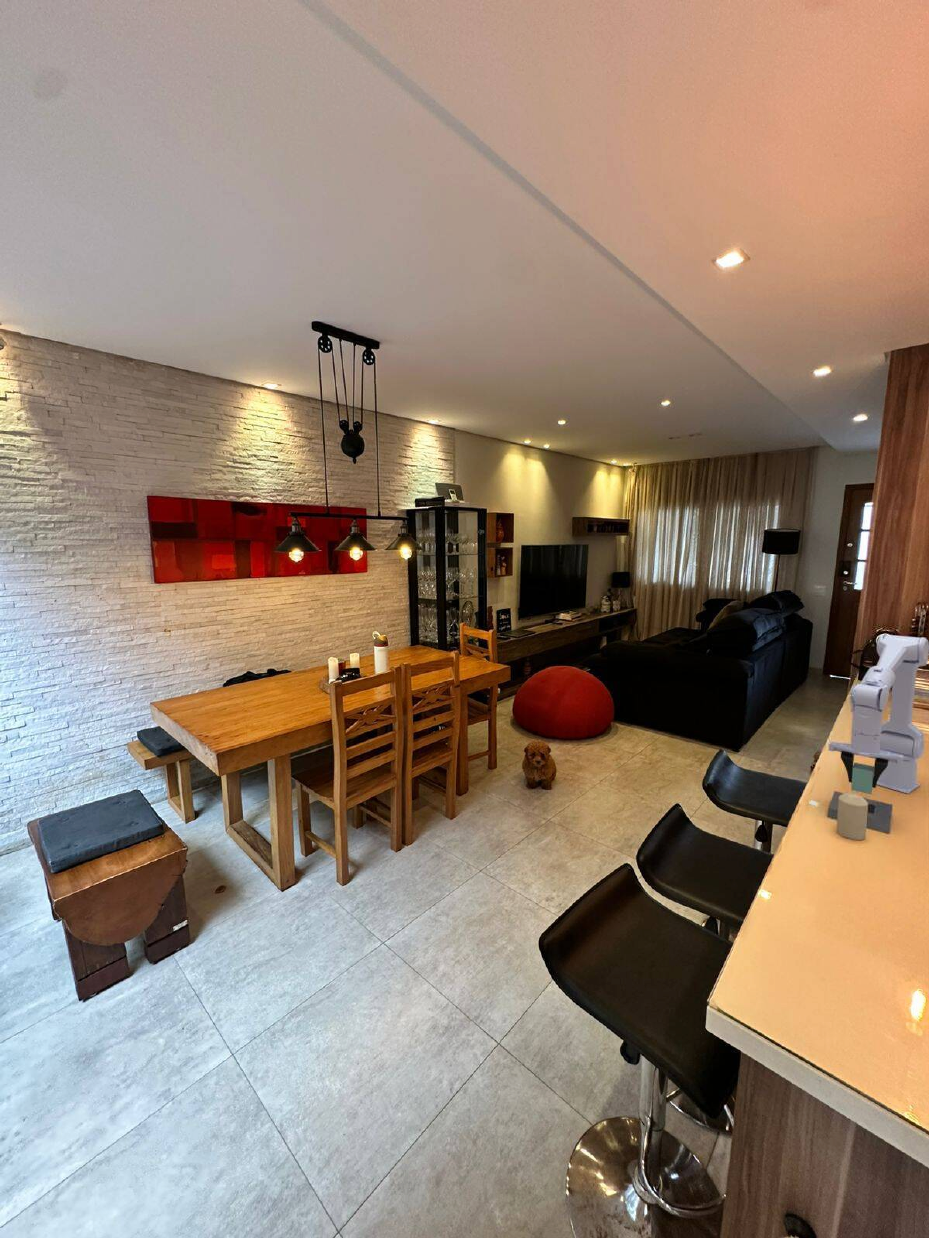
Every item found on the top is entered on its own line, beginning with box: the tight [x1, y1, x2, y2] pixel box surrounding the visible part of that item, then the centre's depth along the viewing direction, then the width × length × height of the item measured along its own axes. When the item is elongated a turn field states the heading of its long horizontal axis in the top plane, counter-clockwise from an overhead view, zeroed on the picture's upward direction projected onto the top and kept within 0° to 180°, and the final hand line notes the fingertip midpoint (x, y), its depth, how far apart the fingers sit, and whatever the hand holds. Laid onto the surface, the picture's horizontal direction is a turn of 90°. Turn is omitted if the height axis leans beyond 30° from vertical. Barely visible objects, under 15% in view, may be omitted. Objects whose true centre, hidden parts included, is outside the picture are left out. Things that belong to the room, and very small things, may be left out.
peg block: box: [850, 762, 874, 795], centre depth 127 cm, size 4×4×6 cm
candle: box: [836, 791, 868, 841], centre depth 119 cm, size 6×6×10 cm
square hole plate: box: [827, 790, 893, 834], centre depth 127 cm, size 12×12×2 cm
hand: (862, 783), depth 127 cm, fingers closed on peg block, 4 cm apart
